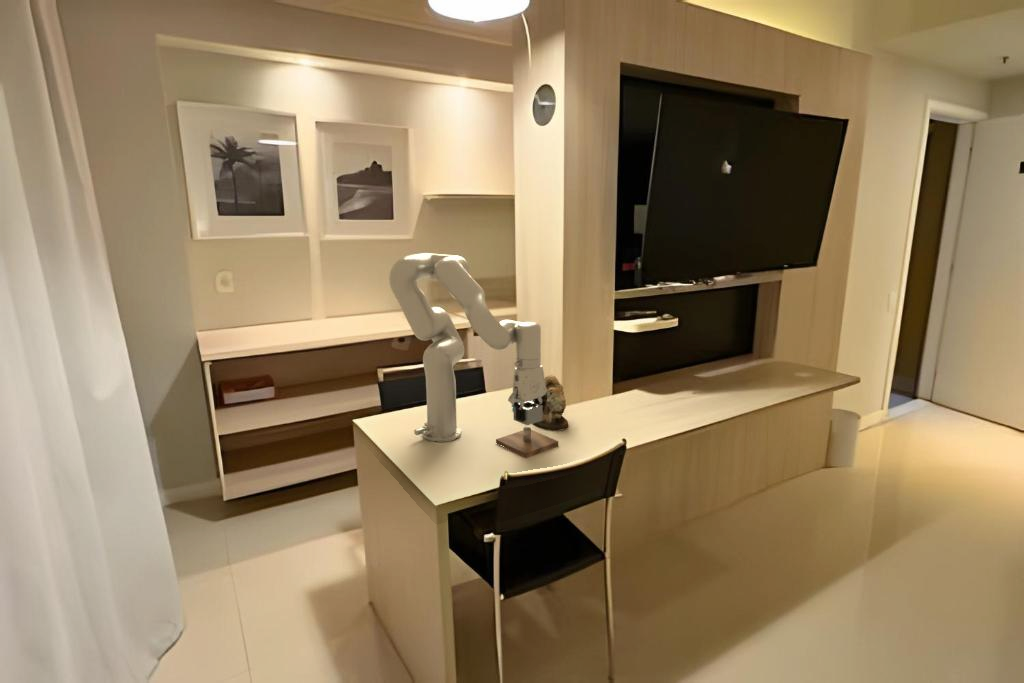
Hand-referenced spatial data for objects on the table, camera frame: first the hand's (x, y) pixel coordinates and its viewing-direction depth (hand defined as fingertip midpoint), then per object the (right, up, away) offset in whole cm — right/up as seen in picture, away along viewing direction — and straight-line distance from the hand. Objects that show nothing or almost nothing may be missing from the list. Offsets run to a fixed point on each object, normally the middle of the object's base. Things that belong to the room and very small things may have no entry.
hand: (528, 417), depth 174 cm
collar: (0, -1, 0) cm, 1 cm away
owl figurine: (+7, -5, +22) cm, 23 cm away
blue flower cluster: (-1, -2, +32) cm, 32 cm away
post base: (0, -9, +2) cm, 9 cm away
